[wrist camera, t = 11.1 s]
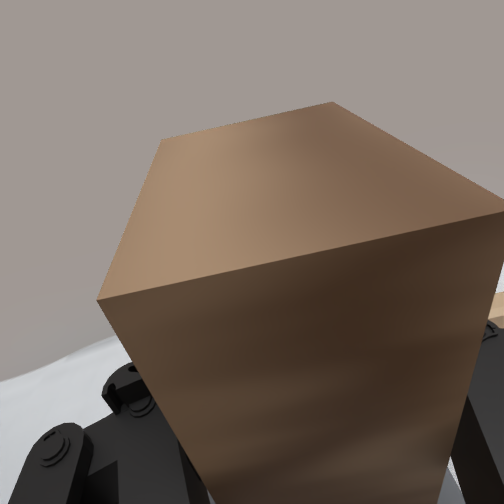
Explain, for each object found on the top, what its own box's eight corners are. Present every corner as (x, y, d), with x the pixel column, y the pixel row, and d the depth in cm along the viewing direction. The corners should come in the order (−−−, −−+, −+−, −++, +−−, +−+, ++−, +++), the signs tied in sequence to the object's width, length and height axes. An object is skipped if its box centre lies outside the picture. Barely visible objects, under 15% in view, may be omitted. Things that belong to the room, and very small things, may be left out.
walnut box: (274, 603, 12) (96, 300, 4) (251, 412, 18) (161, 139, 10) (418, 572, 12) (518, 207, 4) (347, 391, 18) (332, 101, 10)
